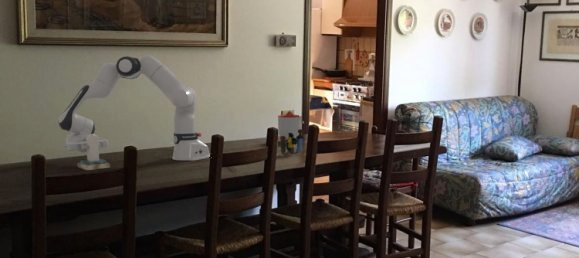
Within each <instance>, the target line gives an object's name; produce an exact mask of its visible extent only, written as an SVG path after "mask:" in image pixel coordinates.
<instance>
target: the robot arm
mask: <svg viewBox="0 0 579 258" xmlns="http://www.w3.org/2000/svg"><path fill="white" fill-rule="evenodd" d="M141 74H142V75H144V76H145V77H146V78H147V79H148V80H150V82H152V84H154V86H156V87H157V88H158V89H159V90H160V91H161V92H162V93H163V95H165V96H166V98H167V99H168V100H169V101H170V102H171V104H172V105H173V106H174V107H175V111H174V118H173V123H174V124H173V126H174V127H173V129H174V132H173V154H172V158H171V159H172V160H174V161H193V162H194V161H198V160H204V159H210V158H209V157H210V154H211V153H210V149H209V146H208V145H207V144H206V143H204V142H203V141H202V140H201V139H199V138H201V137H202V133H201V132H196V121H195V120H196V109H197V108H196V107H197V92H196V91H195V89H194V88H192V87H191V86H188V85H187V86H185V84H183V83H182V82H181V81H180V79H179V78H178V77H177V76H176V74H175V73H174V72H172V70H170V69H169V68H168V67H167V66H166V65H165V64H164V63H162V62H161V61H160V60H159V59H158V58H156V57H154V56H152V55H151V54H145V55H143V56H142V57H141V58H137V57H132V56H128V55H127V56H122V57H120V58H118V60H117V62H116V63H114V62H109V61H108V62H105V63H103V64H102V66H101V67H100V68H99V70H98V71H97V73H96V75H95V77H94V79H93V80H92V81H91V82H90V83H89V84H87V85H86V84H85V85H84V86H83V87H81V88H80V90H79V91H78V93H77V94H76V95H75V97H74V98H73V100H71V102H70V103H69V105H68V107H66V109H65V110H64V111H63V112H62V114H61V115H60V116H59V118H58V126H59V128H60V129H61V130H63V131H67V132H70V133H69V134H68V135H67V136H66V138H65V144H64V145H63V147H65V148H66V149H67V150H68V151H70V152H74V151H77V152H79V153H87V149H89V145H87V143H86V136H87V135H90V134H95V130H96V125H95V122H94V121H93V120H92V119H91V118H87V117H84V116H83V115H80V114H77V112H78V111H79V108H80V107H81V106H82V104H83V103H84V102H85V101H86V100H88V99H105V98H107V97H109V96H110V95H111V94H112V93H113V91H114V89H115V87H116V84H117V83H118V81H119V79H129V80H133V79H137V78H138V77H140V75H141ZM97 136H98V143H99V149H102V148H108V147H109V141H108V139H106V138H103V137H100V136H99V135H97Z"/></svg>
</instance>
